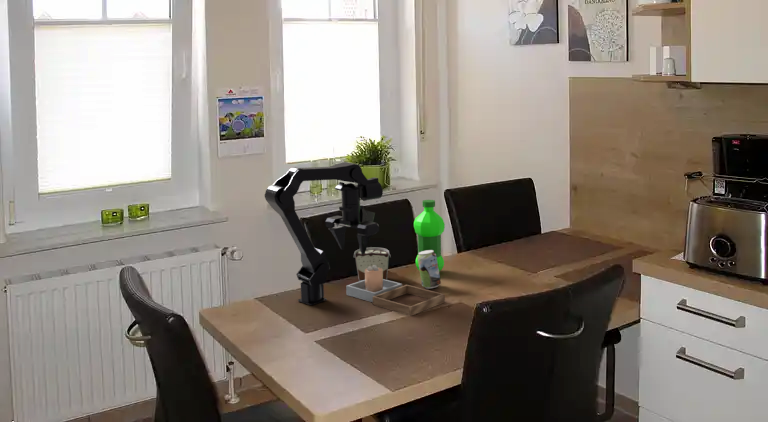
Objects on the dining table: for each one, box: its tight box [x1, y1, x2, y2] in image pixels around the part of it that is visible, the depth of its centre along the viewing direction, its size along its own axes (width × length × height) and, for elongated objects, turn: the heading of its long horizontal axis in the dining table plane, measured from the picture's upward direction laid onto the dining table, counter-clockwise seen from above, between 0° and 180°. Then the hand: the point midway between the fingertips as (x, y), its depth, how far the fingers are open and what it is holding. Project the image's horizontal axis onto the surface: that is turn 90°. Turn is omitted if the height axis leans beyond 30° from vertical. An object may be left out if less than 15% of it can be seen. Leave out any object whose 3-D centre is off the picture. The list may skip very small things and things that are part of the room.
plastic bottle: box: [413, 199, 446, 272], centre depth 268 cm, size 10×10×25 cm
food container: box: [353, 246, 392, 282], centre depth 266 cm, size 12×6×10 cm, turn 84°
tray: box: [345, 279, 403, 303], centre depth 250 cm, size 12×12×3 cm
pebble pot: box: [365, 265, 383, 292], centre depth 250 cm, size 6×6×8 cm
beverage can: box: [416, 250, 442, 290], centre depth 254 cm, size 6×7×12 cm
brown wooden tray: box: [372, 284, 446, 316], centre depth 240 cm, size 15×15×2 cm
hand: (352, 251), depth 251 cm, fingers open, 9 cm apart
